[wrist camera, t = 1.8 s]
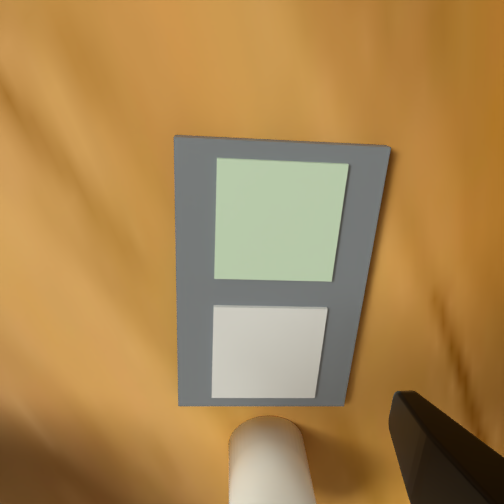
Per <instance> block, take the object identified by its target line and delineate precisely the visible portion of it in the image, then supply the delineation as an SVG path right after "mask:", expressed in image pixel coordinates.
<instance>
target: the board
mask: <svg viewBox="0 0 504 504" xmlns="http://www.w3.org/2000/svg"><path fill="white" fill-rule="evenodd" d="M390 150H391V147H389V146H386V145H371V144H351V143H330V142H309V141H289V140H268V139H248V138H227V137H207V136H186V135H175V136H174V174H175V232H176V290H177V348H178V406H344V402H345V397H346V391H347V386H348V380H349V375H350V369H351V364H352V358H353V353H354V347H355V342H356V336H357V331H358V325H359V320H360V314H361V309H362V303H363V298H364V292H365V287H366V281H367V276H368V270H369V265H370V259H371V254H372V249H373V243H374V238H375V232H376V227H377V221H378V216H379V210H380V205H381V199H382V194H383V188H384V183H385V177H386V172H387V166H388V161H389V155H390Z"/></svg>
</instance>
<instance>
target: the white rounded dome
mask: <svg viewBox="0 0 504 504" xmlns="http://www.w3.org/2000/svg"><path fill="white" fill-rule="evenodd" d="M229 504H316V500H315V495H314V490H313V485H312V480H311V475H310V470H309V465H308V461H307V456H306V451H305V446H304V441H303V436H302V433H301V431H300V430H299V428H298V427H297V426H296V425H295V424H293V423H292V422H291V421H289V420H287V419H284V418H281V417H276V416H261V417H256V418H252V419H250V420H248V421H246V422H244V423H242V424H241V425H239V426H238V427H237V428H236V429H235V430H234V432H233V433H232V435H231V437H230V440H229Z"/></svg>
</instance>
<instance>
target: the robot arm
mask: <svg viewBox="0 0 504 504" xmlns="http://www.w3.org/2000/svg"><path fill="white" fill-rule="evenodd" d="M389 430H390V434H391V438H392V441H393V445H394V448H395V452H396V455H397V459H398V462H399V466H400V469H401V473H402V476H403V480H404V483H405V487H406V490H407V494H408V497H409V500H410V503H411V504H504V457H502V456H501V455H500V454H498V453H497V452H496V451H494V450H493V449H492V448H490V447H489V446H488V445H486V444H485V443H484V442H482V441H481V440H480V439H478V438H477V437H476V436H474V435H473V434H472V433H470V432H469V431H468V430H466V429H465V428H464V427H462V426H461V425H459V424H458V423H457V422H455V421H454V420H453V419H451V418H450V417H449V416H447V415H446V414H445V413H443V412H442V411H441V410H439V409H438V408H437V407H435V406H434V405H433V404H431V403H430V402H429V401H427V400H426V399H425V398H423V397H422V396H421V395H419V394H418V393H417V392H415V391H397V392H395V394H394V396H393V400H392V405H391V410H390V415H389Z"/></svg>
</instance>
